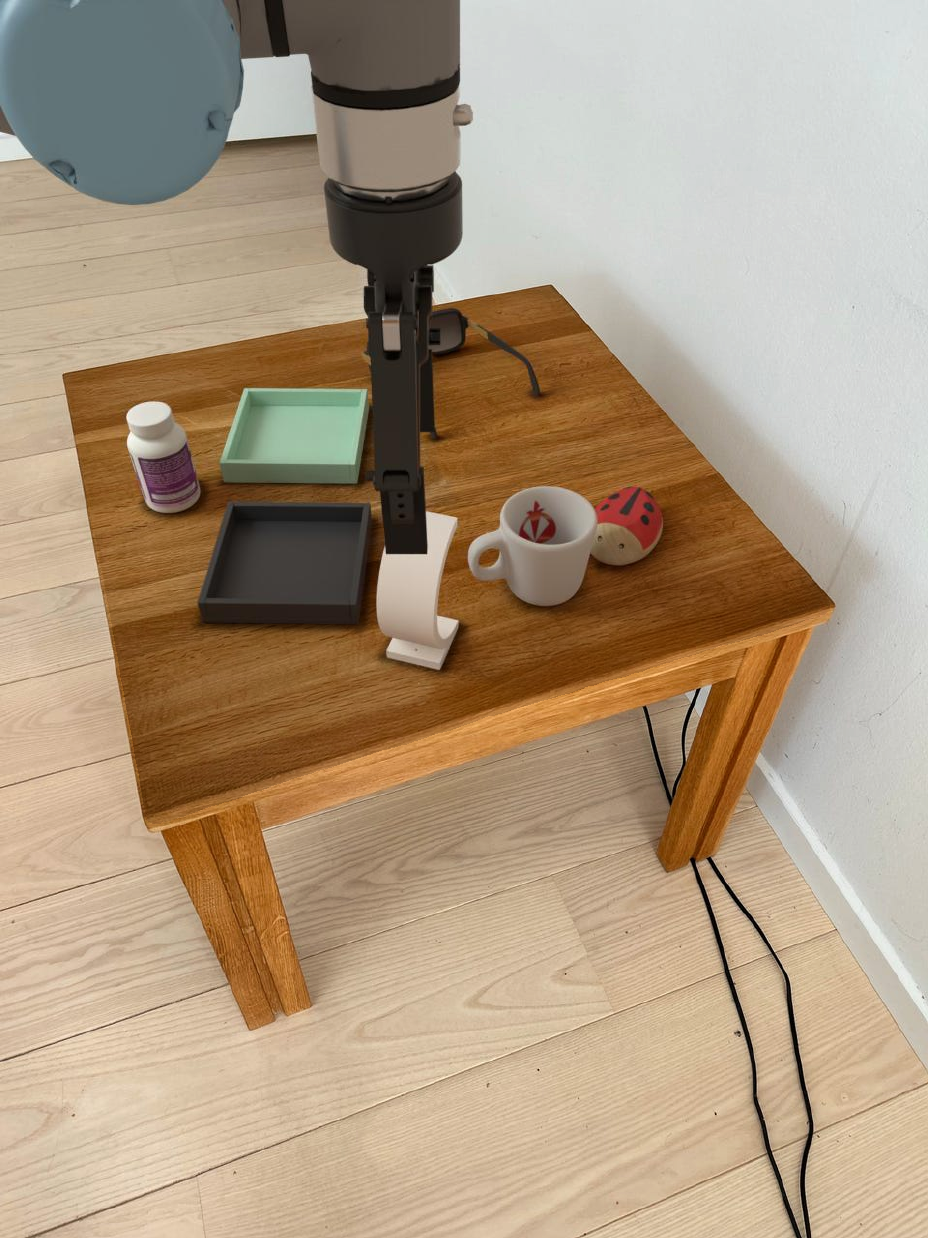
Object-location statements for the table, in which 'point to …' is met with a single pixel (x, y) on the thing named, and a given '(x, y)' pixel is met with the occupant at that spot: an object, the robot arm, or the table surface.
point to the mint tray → (296, 436)
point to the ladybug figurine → (626, 526)
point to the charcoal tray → (288, 563)
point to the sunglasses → (462, 340)
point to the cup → (539, 545)
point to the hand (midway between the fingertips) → (412, 485)
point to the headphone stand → (417, 599)
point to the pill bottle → (161, 458)
